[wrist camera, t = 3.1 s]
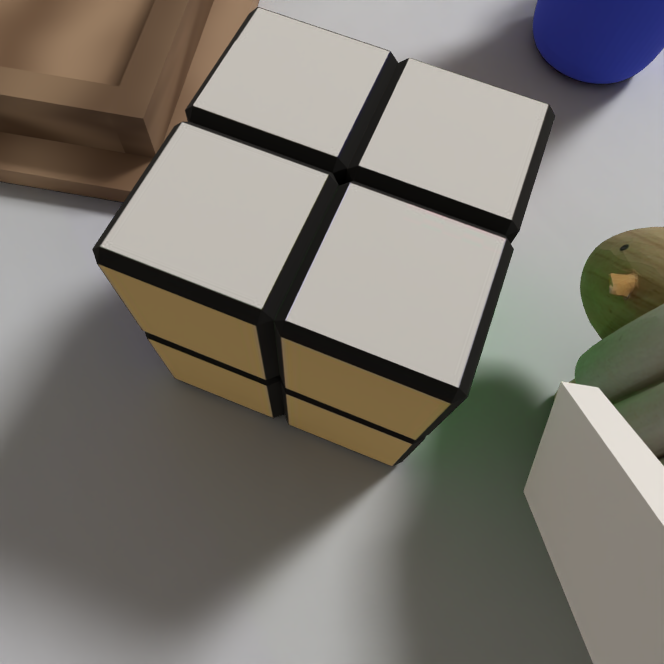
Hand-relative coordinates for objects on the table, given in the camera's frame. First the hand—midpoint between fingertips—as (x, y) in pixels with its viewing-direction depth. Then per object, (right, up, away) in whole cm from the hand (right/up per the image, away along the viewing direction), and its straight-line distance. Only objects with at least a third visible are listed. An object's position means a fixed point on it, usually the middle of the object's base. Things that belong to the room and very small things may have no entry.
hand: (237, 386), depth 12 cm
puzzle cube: (+2, +2, +13) cm, 13 cm away
